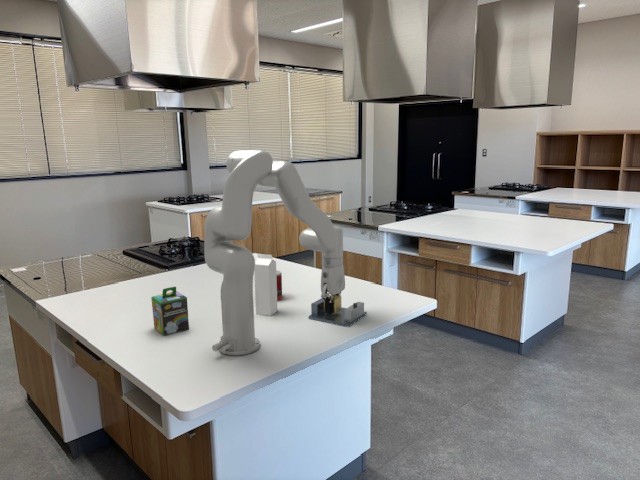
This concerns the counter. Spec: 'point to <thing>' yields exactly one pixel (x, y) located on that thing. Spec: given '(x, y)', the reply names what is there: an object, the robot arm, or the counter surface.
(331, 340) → the counter surface
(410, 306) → the counter surface
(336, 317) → the vise
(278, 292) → the canned food
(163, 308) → the chalk box
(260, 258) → the milk
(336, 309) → the brass block
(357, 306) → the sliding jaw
